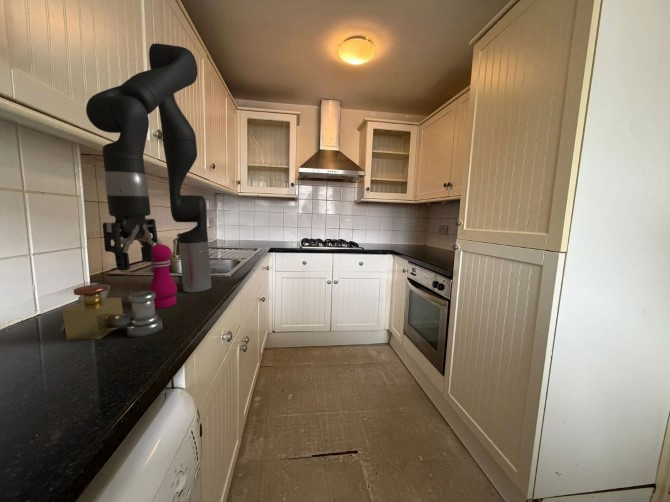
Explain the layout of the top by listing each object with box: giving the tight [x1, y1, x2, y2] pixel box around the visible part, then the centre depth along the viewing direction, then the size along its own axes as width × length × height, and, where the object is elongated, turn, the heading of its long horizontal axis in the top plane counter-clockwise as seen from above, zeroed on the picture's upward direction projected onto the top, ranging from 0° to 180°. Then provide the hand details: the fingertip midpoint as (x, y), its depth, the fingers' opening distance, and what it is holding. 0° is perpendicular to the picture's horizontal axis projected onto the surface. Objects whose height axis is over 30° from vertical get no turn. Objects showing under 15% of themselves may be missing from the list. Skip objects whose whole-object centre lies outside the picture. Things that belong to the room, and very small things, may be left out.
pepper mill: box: [148, 238, 178, 309], centre depth 82 cm, size 7×7×20 cm
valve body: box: [61, 283, 163, 341], centre depth 65 cm, size 8×18×11 cm, turn 94°
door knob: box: [128, 290, 159, 327], centre depth 65 cm, size 5×5×7 cm
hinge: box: [60, 282, 111, 332], centre depth 74 cm, size 17×5×10 cm, turn 28°
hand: (136, 265), depth 64 cm, fingers open, 8 cm apart
